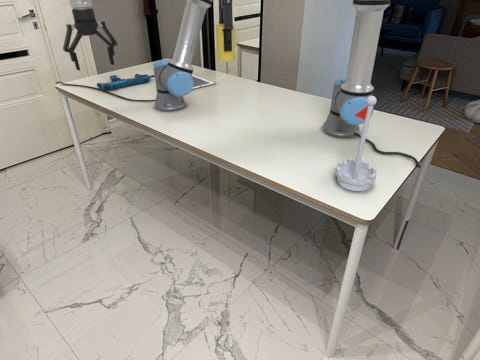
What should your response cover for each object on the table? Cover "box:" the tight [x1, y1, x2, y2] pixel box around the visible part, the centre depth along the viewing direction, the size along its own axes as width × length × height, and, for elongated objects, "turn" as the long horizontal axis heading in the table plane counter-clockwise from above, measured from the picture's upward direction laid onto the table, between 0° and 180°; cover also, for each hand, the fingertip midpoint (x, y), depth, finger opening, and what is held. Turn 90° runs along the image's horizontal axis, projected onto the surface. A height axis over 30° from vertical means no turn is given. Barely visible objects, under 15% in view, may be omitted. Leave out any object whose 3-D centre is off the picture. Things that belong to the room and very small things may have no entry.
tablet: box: [191, 73, 216, 91], centre depth 211 cm, size 32×20×1 cm, turn 41°
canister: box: [215, 23, 236, 63], centre depth 120 cm, size 6×6×12 cm
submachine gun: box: [96, 73, 155, 91], centre depth 208 cm, size 34×4×25 cm
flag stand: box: [334, 95, 378, 192], centre depth 107 cm, size 13×13×30 cm
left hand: (95, 66), depth 137 cm, fingers open, 13 cm apart
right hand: (226, 48), depth 121 cm, fingers closed on canister, 6 cm apart
